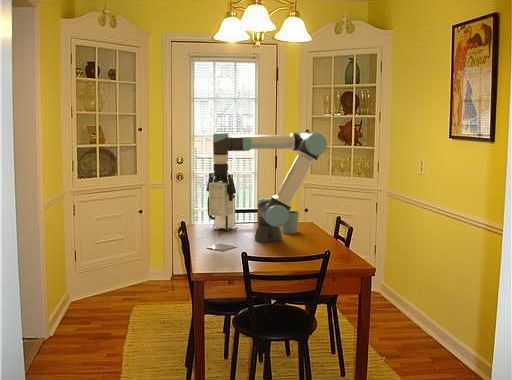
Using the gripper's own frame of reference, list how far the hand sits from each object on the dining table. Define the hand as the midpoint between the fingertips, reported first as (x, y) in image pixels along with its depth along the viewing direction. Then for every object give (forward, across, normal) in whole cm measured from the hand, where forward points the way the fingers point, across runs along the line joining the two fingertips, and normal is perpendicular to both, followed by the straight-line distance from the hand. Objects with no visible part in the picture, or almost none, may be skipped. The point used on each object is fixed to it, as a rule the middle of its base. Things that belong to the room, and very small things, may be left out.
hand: (221, 206), depth 303 cm
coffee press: (+22, +30, -39) cm, 54 cm away
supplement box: (+5, 0, 0) cm, 5 cm away
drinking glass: (+22, -8, -54) cm, 59 cm away
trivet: (+22, 0, 0) cm, 22 cm away
